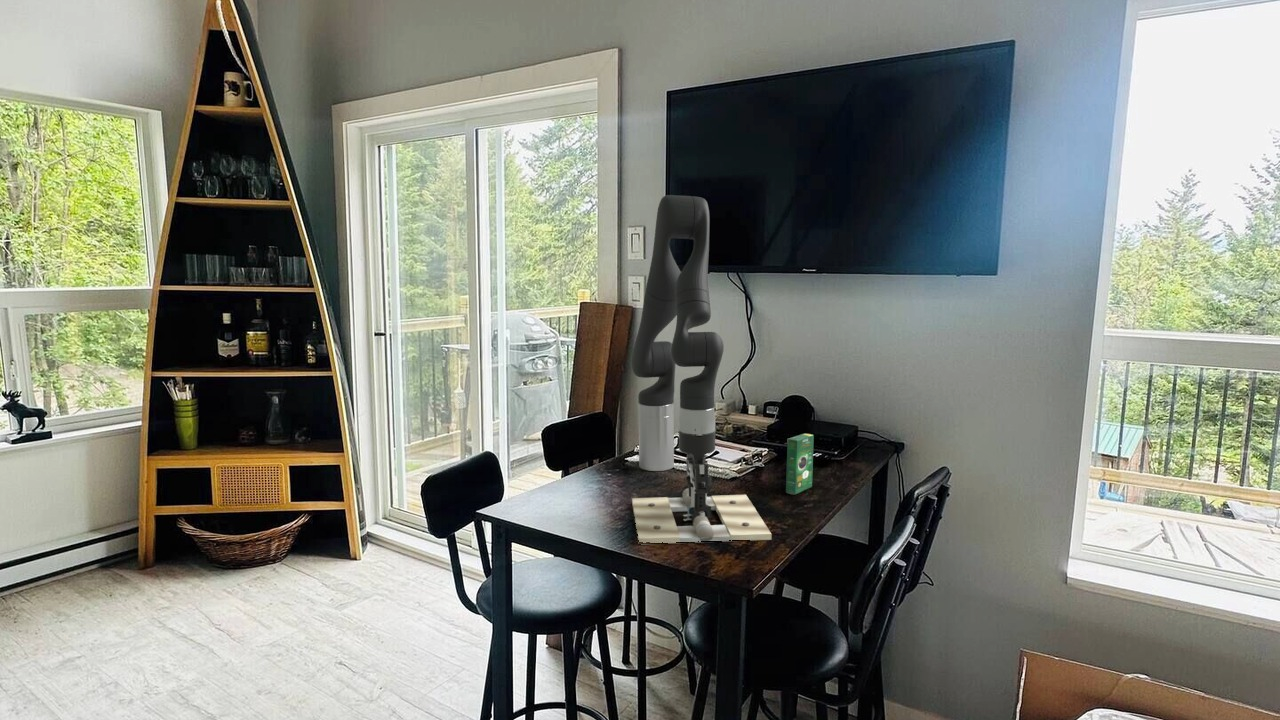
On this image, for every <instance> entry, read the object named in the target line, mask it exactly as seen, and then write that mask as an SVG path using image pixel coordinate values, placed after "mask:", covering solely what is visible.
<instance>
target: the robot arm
mask: <svg viewBox="0 0 1280 720" xmlns="http://www.w3.org/2000/svg"><path fill="white" fill-rule="evenodd" d="M656 212H657V213H656V218H655V219H656V220H655V231H654V239H653V247H652V248H653V249H652V257H651V262H650V267H649V272H648V277H647V282H646V286H645V293H644V297H643V304H642V305H643V306H642V312H641V318H640V323H639V328H638V331H637V334H636V338H635V342H634V346H633V349H632V356H631V369H632V371H633V372H632V373H633V374H634V375H635V376H636V377H638V378H643V379H645V378H646V379H647V378H649V379H650V378H658V380H657V381H655V383H654V384H652V385H651V386H649V387H646V388H644V389H642V390H641V391H639V392H638V400H637V401H638V466H639V468H640V469H642V470H644V471H650V472H651V471H652V472H662V471H669V470H671V469H673V468H674V466H675V461H674V460H675V456H674V455H675V441H674V440H675V438H674V437H675V429H674V428H675V426H674V425H675V421H674V419H675V412H674V411H675V410H674V409H675V407H674V402H675V401H674V399H675V398H674V397H675V381H676V379H675V378H676V365H677V366H678V367H682V368H691V367H692V368H695V367H696V368H697V367H704V368H703V369H702V371H701V373H699V374H697V375H694V376H689V377H686V378H684V379H682V380H681V381H680V384H679V405H680V406H679V413H678V449H679V451H680V452H682V453H684V454H686V460H685V462H686V466H685V467H686V471H685V472H686V474H687V475H686V477H687V476H688V475H690V478H691V483H693V485H694V509H695V511H705V509H706V494H705V493H707V494H709V486H708V475H709V465H708V464H709V462H708V460H706V459H707V458H706V457H705V456H706V455H707V454H711V453H713V452H714V451H715V450H716V414H715V387H716V386H715V385H716V381H717V380H716V379H717V375H718V372H719V368H720V365H721V362H722V358H723V354H724V341H723V339H722V337H721V336H720V334H719V333H718V332H715V331H691V332H689V330H691V329H692V328H696V327H700V326H703V325H705V324H707V323H708V322H709V321H710V320H711V316H712V312H711V301H710V292H709V290H710V289H709V278H708V277H709V274H708V273H709V271H708V270H709V256H710V254H709V252H710V222H711V220H710V209H709V204H708V201H707V200H706V199H705V198H703V197H700V196H691V195H679V194H678V195H675V194H667V195H664V196H662V197H661V199H660V201H659V204H658V207H657V211H656ZM671 239H681V240H682V239H684V240H687V239H688V240H693V249H692V252H691V254H690V255H689V256H690V257H689V258H688V260H687V261H686V263H685V265H684V267H683V268H682V270H681V269H680V268H679V266H678V265H677V263H676V260H675V259H674V256H673V253H672V251H671V248H670V242H671ZM675 318H676V323H675V324H676V326H675V331H674V335H673V338H672V342H671V341H666V340H663V341H655V340H656V338H657V337H658V335H659V334H660V333H661V332H662V331H663V330H664V329H665V328H666V327H667V326H668V325H669V324H670V323H671V322H672V321H673V320H675ZM698 483H703V487H701V488H698ZM688 488H689V496H690V497H691V487H690V486H689V485H688Z"/></svg>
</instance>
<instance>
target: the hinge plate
mask: <svg viewBox="0 0 1280 720" xmlns="http://www.w3.org/2000/svg"><path fill="white" fill-rule="evenodd" d="M681 495H682V496H681V497H668V496H665V497H664V496H663V497H661V496H659V497H633V498H631V504H632V510H633V516H634V517H635V518H634V523H636V524H635V528H636V529H637V530H636V535H637V534H638V536H637V540H639V542H643V543H646V542H650V543H662V542H663V543H668V544H677V543H676V542H695V543H702V542H701V541H722V542H733V541H732V540H750V541H770V540H771V541H772V533H771V530H770V529H769V528H768V526H767V524H766V523H765V522H764V520H763V519H762V517H761V516H760V514H759V512H758V511H757V509H756V507H755V506H754V505H753V503H752V501H751V500H750V499H749V497H748V496H747V494H729V495H728V494H723V495H722V494H721V495H711V496H707V504H706V505H708V506H711V511H716V513H717V515H718V517H719V520H720V521H721V524H712V525H711V523H710V520H709V519H707V517H706V516H703V515H699V516H697V517H695V519H694V521H693V522H692V525H682V526H681V525H678V526H677V523H676V520H675V518H674V513H675V512H688V507H691V506H690V505H691V497H690V496H689V487H686V488H685V489H684V490H683V491H682V494H681ZM673 512H674V513H673ZM729 540H731V541H729ZM698 541H699V542H698ZM639 542H638V543H639Z"/></svg>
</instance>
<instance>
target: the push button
mask: <svg viewBox="0 0 1280 720" xmlns="http://www.w3.org/2000/svg"><path fill="white" fill-rule="evenodd" d="M687 475H688V474H687ZM687 475H686V477H685V478H686V479H685V480H686V481H687V482H686V483H687V486H688V487H689V486H690V487H691V505H690V506H691V507H688V511H687V513H686V514H683V515H682V516H683V517H684V518H683V521H684V522H686V521H691V522H692V523H693V521H694V519H695V517H697V516H699V515H703V516H706V517H707V519H708V520H709V519H711V518H712V510H711V506H708V505H706V509H705V511H695V509H694V485H693V483H691V478H690V475H688V476H687ZM712 480H713V478H712V476H711V475H710V474H708V487H710V486H711V482H712ZM701 487H703V483H698V488H701ZM705 494H706V504H707V497H708V495H707V494H708V493H705ZM685 517H686V518H685Z"/></svg>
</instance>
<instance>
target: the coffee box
mask: <svg viewBox="0 0 1280 720" xmlns="http://www.w3.org/2000/svg"><path fill="white" fill-rule="evenodd" d="M814 439H815V437H814V434H811V433H806V432H805V433H801V434H799V435H795V436H793V437H790V438H787V448H786V449H787V450H786V479H785V480H786V482H785V493H786V494H790V495H797V494H800V493H802V492H804V491H806V490H809V489H810V488H812V487H813V473H814V471H813V470H814V469H813V468H814V466H813V465H814Z"/></svg>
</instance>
